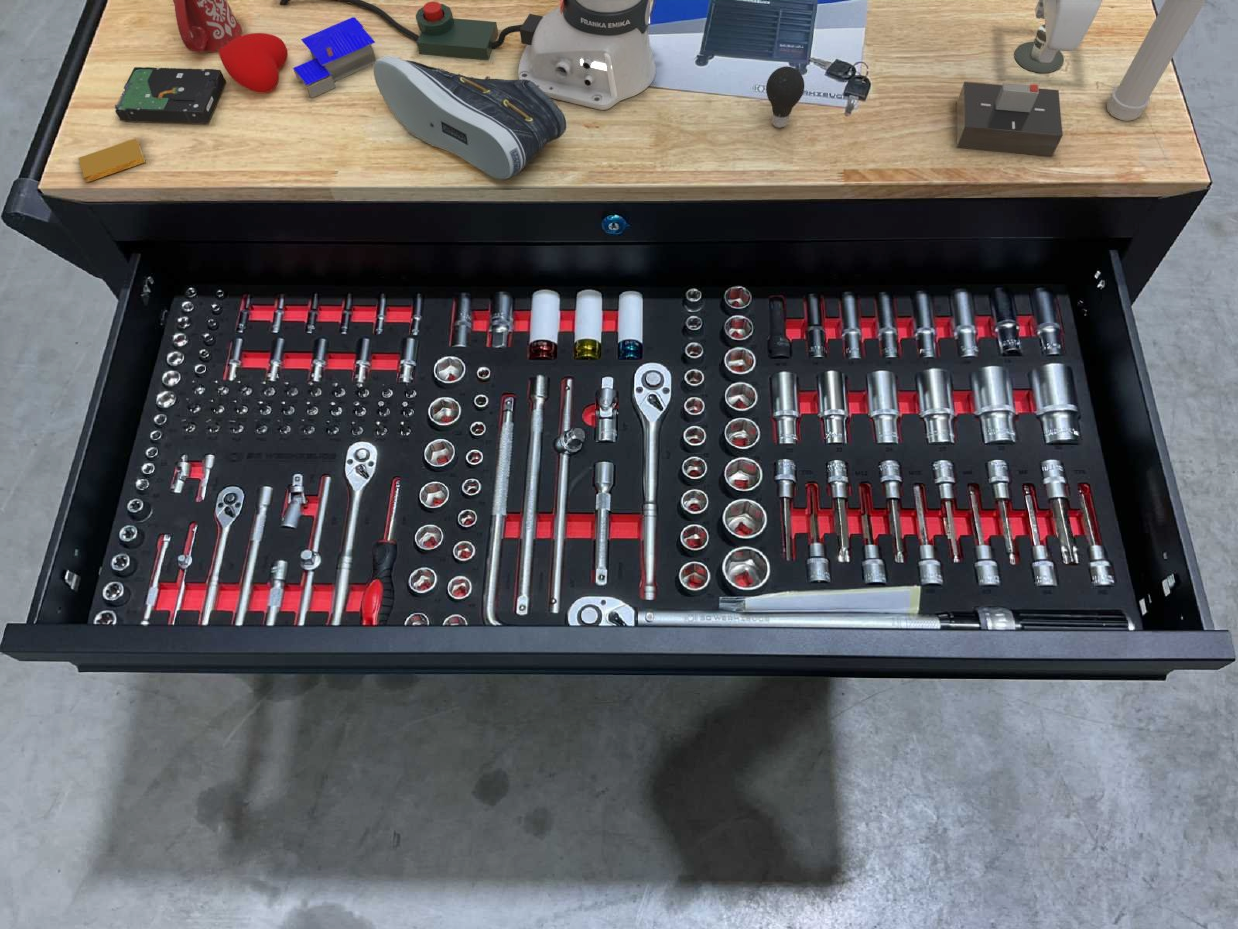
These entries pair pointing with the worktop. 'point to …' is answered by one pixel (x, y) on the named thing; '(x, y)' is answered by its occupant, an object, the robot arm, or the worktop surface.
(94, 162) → the golden brown flat block
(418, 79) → the boat shoe
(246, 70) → the heart
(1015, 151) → the lever switch box
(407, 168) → the worktop surface
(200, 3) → the mug
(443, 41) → the button box
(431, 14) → the button
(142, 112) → the disk drive
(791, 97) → the light bulb
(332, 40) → the house
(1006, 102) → the grey switch knob
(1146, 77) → the pipe
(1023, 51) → the grey disc with post
